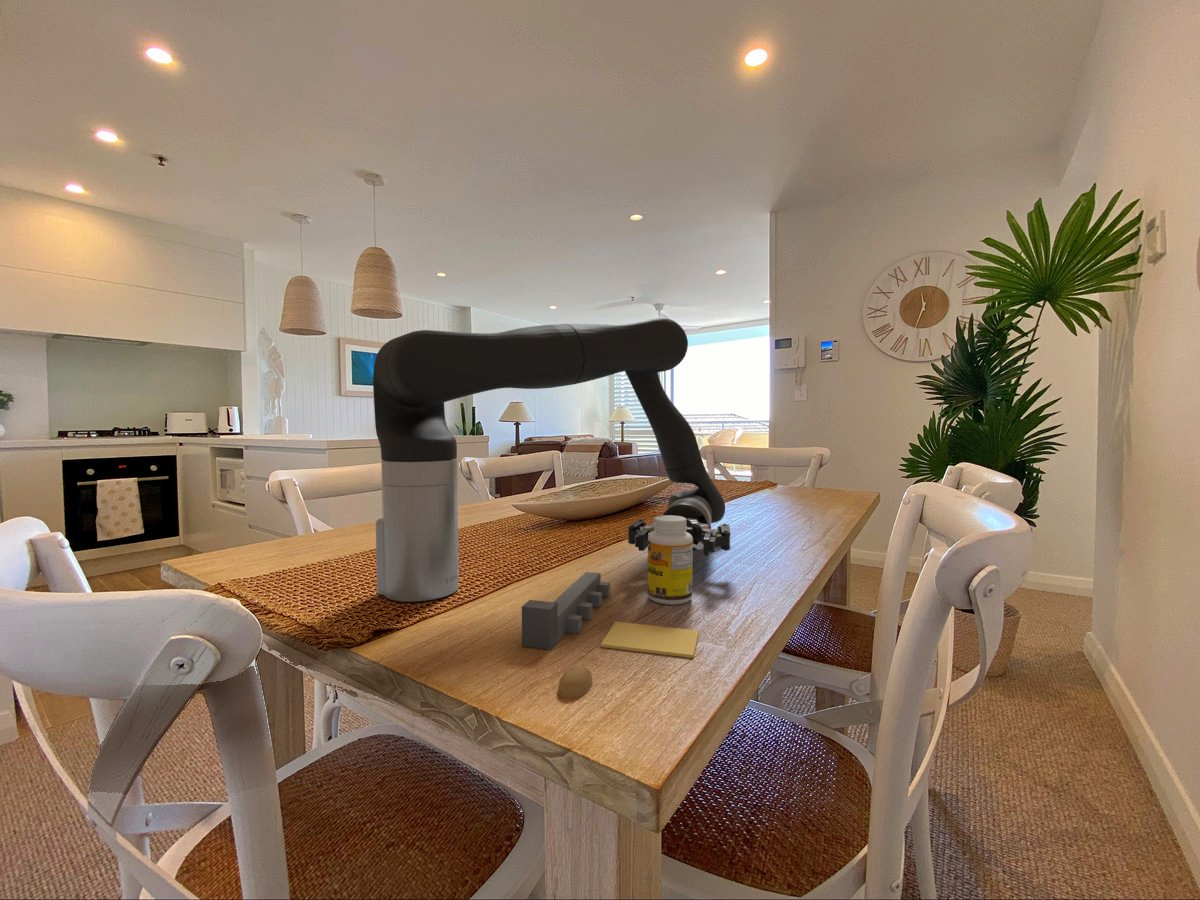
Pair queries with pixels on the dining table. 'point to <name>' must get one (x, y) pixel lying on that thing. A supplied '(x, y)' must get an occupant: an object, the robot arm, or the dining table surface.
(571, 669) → the potato
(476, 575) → the dining table surface
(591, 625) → the dining table surface
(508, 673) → the dining table surface
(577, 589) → the cable comb
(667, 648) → the yellow sticky note
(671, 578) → the supplement bottle
